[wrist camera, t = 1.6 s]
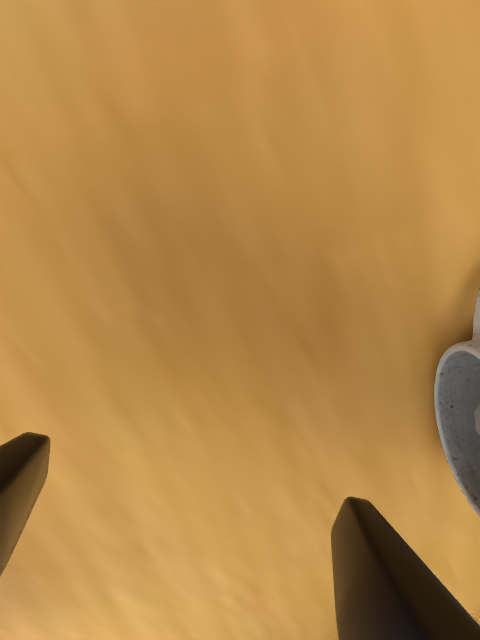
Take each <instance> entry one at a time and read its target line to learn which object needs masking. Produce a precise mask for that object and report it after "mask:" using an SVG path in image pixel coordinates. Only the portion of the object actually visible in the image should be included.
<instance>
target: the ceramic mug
mask: <svg viewBox="0 0 480 640" xmlns="http://www.w3.org/2000/svg"><path fill="white" fill-rule="evenodd" d="M434 401H435V411H436V421H437V426H438V429H439V434H440V439H441V443H442V446H443V449H444V452H445V456H446V459H447V462H448V464H449V466H450V468H451V470H452V472H453V474H454V477H455V480H456V481H457V483H458V485H459V486H460V488H461V490H462V492H463V494H464V495H465V497H466V498H467V500H468V502H469V504H470V505H471V507H472V508H473V509H474V510H475V512H476V513H477V514H478V515H479V517H480V288H479V292H478V295H477V298H476V305H475V311H474V318H473V336H472V340H470V341H465V342H460V343H456V344H455V345H453V346H451V347H449V348H448V349H447V350H446V351H445V352H444V354H443V356H442V357H441V359H440V361H439V364H438V368H437V371H436V378H435V385H434Z"/></svg>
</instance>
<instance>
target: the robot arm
mask: <svg viewBox="0 0 480 640" xmlns="http://www.w3.org/2000/svg"><path fill="white" fill-rule="evenodd" d="M49 453H50V438H49V437H48V436H46V435H42V434H37V433H32V432H26V433H23V434H21V435H20V436H18V437H16V438H14V439H12V440H10V441H9V442H7V443H5V444H3V445H1V446H0V576H1V574H2V572H3V571H4V569H5V567H6V565H7V563H8V561H9V559H10V557H11V555H12V553H13V550H14V548H15V546H16V544H17V542H18V540H19V537H20V535H21V533H22V531H23V529H24V527H25V524H26V522H27V520H28V518H29V516H30V513H31V511H32V509H33V507H34V505H35V503H36V500H37V498H38V496H39V494H40V492H41V489H42V487H43V485H44V483H45V480H46V477H47V473H48V464H49ZM331 547H332V563H333V579H334V595H335V610H336V622H337V630H338V637H339V640H480V626H479V625H478V624H477V622H476V621H475V620H474V619H473V618H472V617H471V616H470V614H469V613H468V612H467V611H466V610H465V609H464V608H463V607H462V605H461V604H460V603H459V602H458V601H457V600H456V599H455V598H454V596H453V595H452V594H451V593H450V592H449V591H448V590H447V588H446V587H445V586H444V585H443V584H442V583H441V582H440V581H439V579H438V578H437V577H436V576H435V575H434V574H433V573H432V571H431V570H430V569H429V568H428V567H427V566H426V565H425V564H424V562H423V561H422V560H421V559H420V558H419V557H418V556H417V554H416V553H415V552H414V551H413V550H412V549H411V548H410V547H409V545H408V544H407V543H406V542H405V541H404V540H403V539H402V537H401V536H400V535H399V534H398V533H397V532H396V531H395V530H394V528H393V527H392V526H391V525H390V524H389V523H388V522H387V521H386V519H385V518H384V517H383V516H382V515H381V514H380V513H379V511H378V510H377V509H376V508H375V507H374V506H373V505H372V504H371V503H370V502H369V501H368V500H365V499H361V498H356V497H347V498H346V499H345V500H344V502H343V504H342V506H341V509H340V511H339V513H338V515H337V518H336V520H335V522H334V524H333V527H332V532H331Z"/></svg>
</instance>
